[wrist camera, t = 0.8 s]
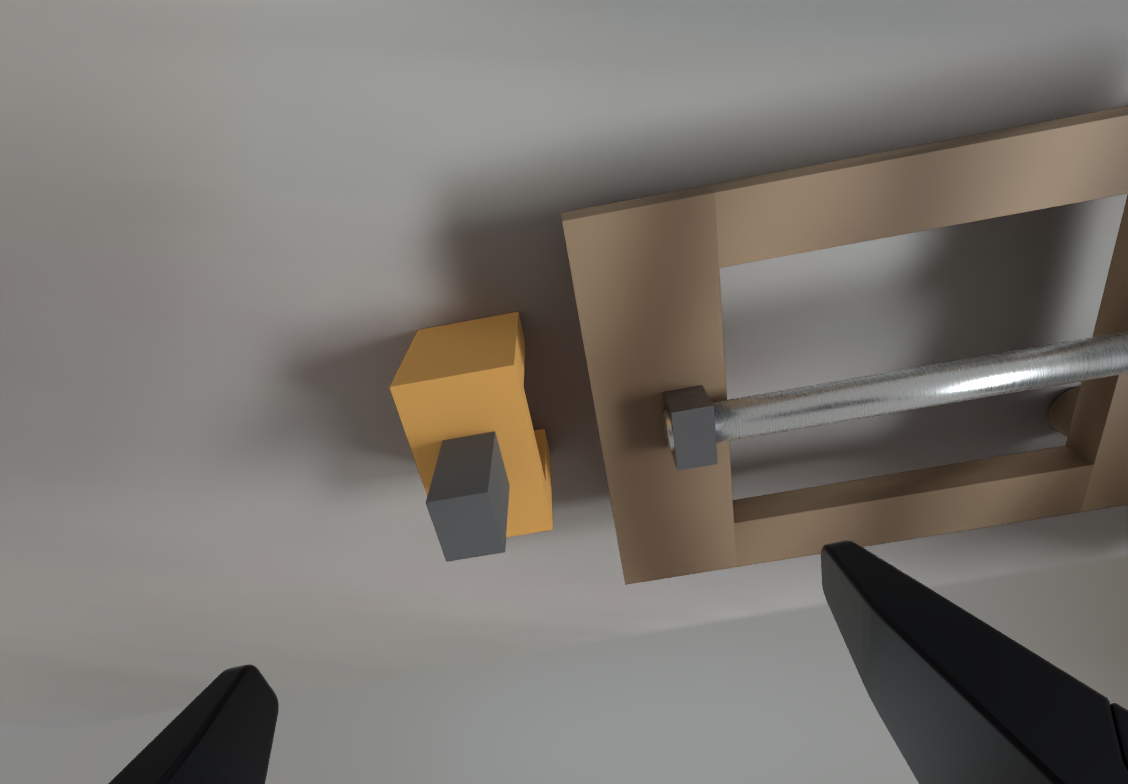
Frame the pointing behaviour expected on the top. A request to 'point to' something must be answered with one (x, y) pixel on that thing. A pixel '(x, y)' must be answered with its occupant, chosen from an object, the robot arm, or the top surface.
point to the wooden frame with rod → (801, 224)
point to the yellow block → (475, 434)
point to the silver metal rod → (880, 394)
